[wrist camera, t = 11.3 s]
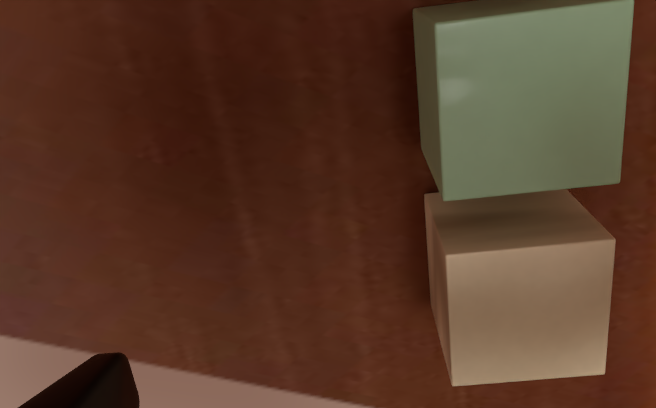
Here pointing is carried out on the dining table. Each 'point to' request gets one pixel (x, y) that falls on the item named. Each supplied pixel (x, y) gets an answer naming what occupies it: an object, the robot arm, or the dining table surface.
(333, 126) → the dining table surface
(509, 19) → the green block
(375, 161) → the dining table surface
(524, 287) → the beech block
